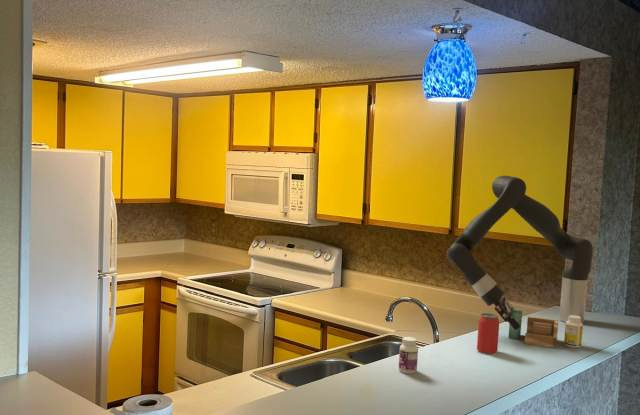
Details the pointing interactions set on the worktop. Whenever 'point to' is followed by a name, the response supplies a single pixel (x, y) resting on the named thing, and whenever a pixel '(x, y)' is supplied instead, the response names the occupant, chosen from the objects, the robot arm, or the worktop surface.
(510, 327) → the block
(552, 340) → the brown u-shaped block
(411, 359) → the pill bottle
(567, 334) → the supplement bottle
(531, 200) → the robot arm
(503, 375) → the worktop surface
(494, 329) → the beer can
